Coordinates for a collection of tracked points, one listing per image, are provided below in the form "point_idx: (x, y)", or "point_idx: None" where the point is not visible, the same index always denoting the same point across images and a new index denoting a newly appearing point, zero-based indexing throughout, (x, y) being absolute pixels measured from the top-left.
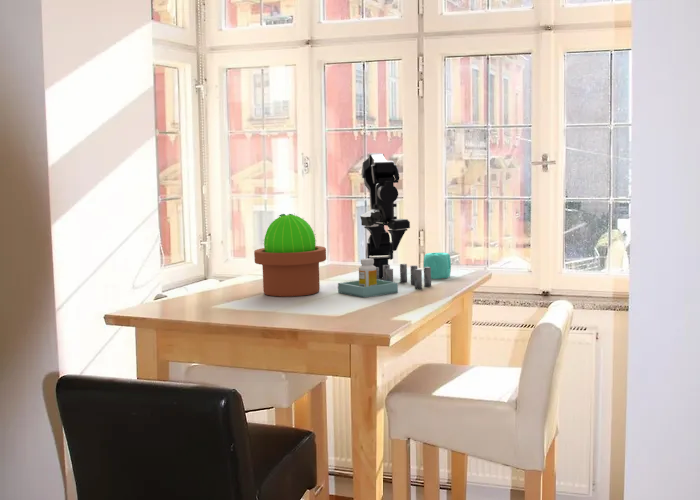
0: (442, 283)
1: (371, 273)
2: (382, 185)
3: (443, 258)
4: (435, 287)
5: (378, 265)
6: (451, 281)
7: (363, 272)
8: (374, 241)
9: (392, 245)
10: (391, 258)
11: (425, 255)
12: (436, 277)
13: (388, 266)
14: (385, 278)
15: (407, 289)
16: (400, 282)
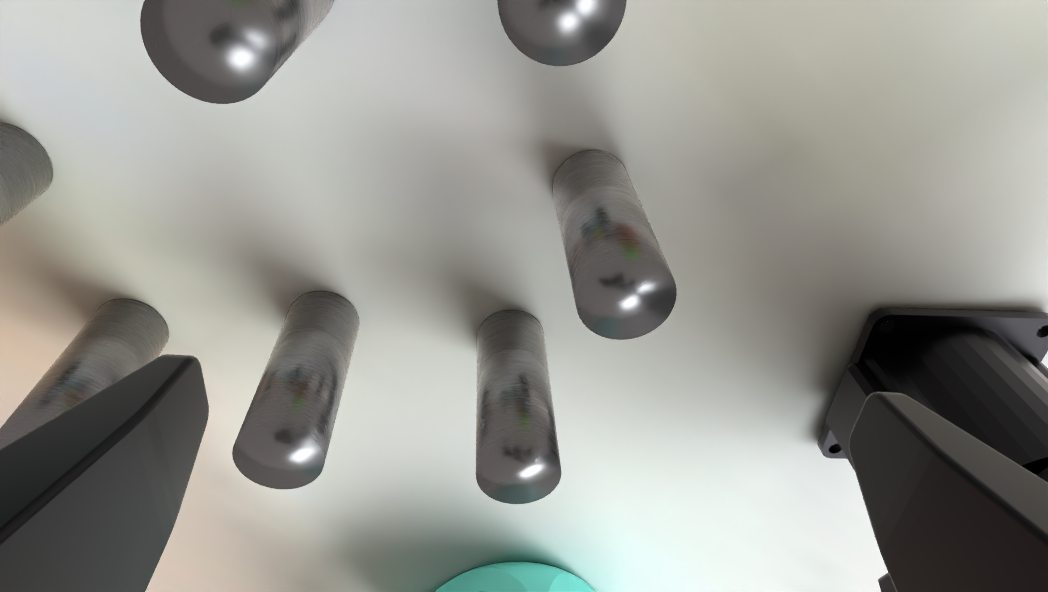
0: (209, 485)
1: None
2: None
3: None
4: (16, 327)
5: (963, 430)
6: (258, 568)
7: None
8: (1009, 489)
9: (97, 425)
10: (884, 584)
11: None
12: (450, 585)
13: (573, 290)
14: (581, 180)
15: (43, 51)
16: (527, 313)
